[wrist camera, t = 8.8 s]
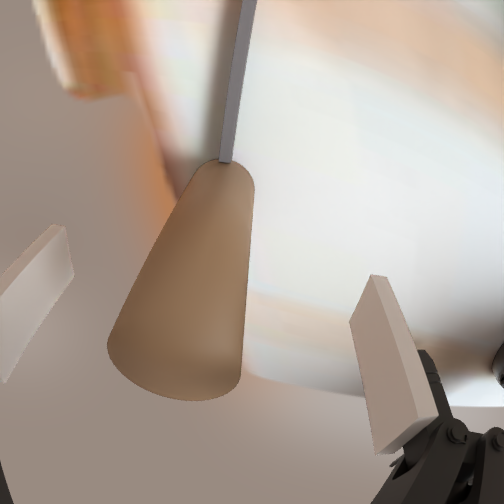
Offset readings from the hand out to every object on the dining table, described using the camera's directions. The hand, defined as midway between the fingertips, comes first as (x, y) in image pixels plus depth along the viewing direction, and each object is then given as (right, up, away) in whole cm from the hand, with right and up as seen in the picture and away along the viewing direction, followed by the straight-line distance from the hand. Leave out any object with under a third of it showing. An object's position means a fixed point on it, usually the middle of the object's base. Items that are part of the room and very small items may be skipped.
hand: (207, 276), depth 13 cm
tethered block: (+1, +13, +2) cm, 13 cm away
